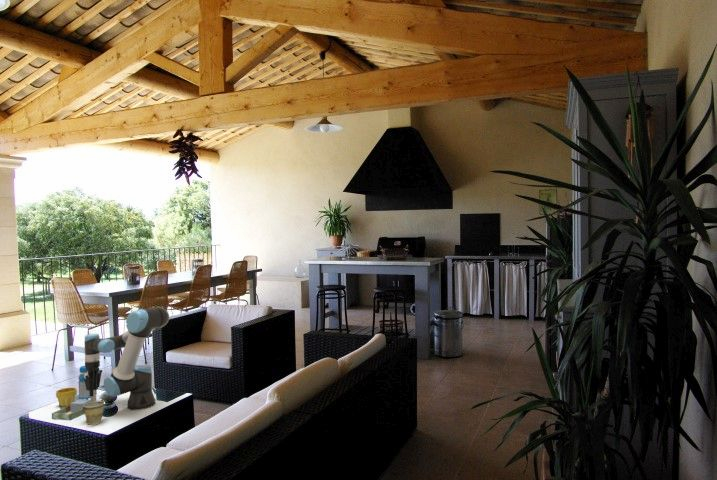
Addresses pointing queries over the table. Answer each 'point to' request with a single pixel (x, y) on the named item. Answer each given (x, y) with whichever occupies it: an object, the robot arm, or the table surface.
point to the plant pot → (66, 396)
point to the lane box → (67, 413)
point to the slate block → (78, 404)
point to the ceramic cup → (94, 411)
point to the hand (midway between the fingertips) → (93, 401)
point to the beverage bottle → (83, 385)
